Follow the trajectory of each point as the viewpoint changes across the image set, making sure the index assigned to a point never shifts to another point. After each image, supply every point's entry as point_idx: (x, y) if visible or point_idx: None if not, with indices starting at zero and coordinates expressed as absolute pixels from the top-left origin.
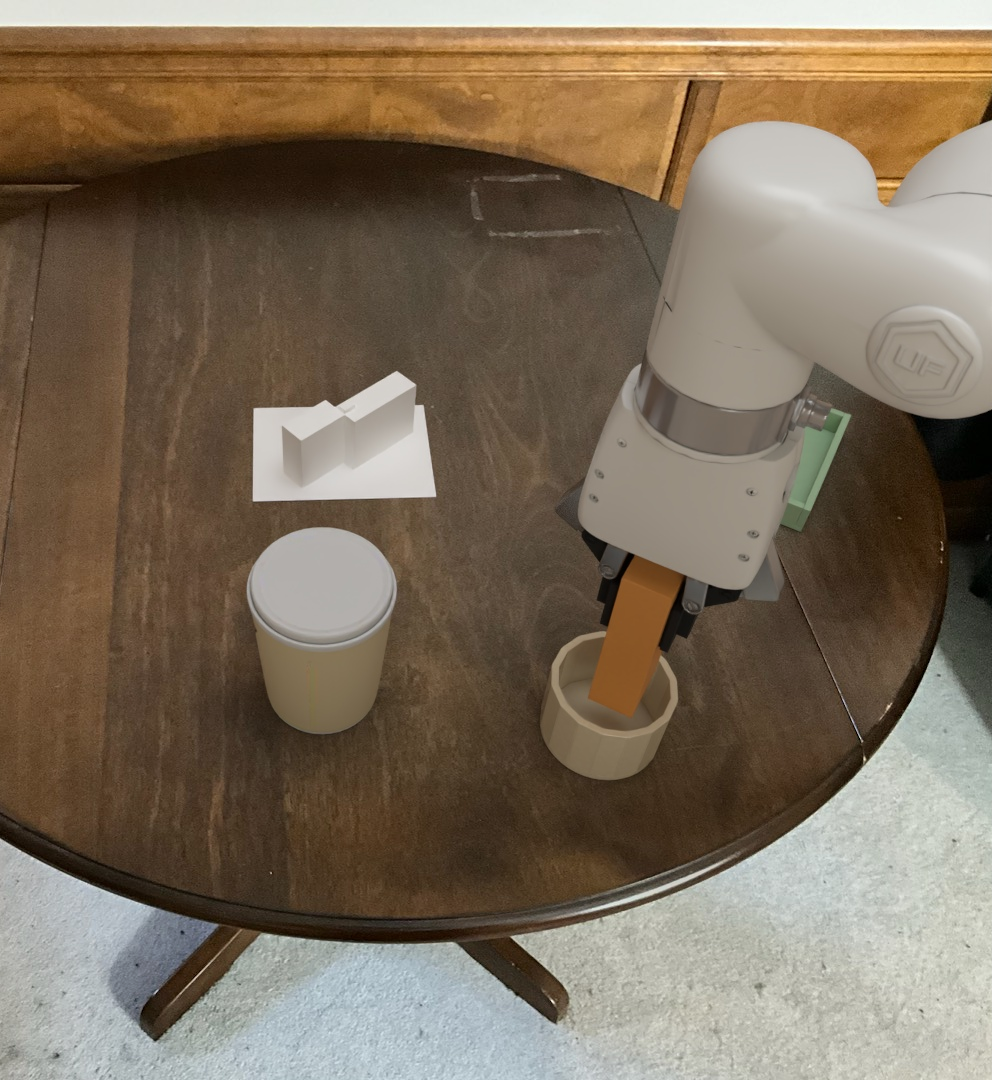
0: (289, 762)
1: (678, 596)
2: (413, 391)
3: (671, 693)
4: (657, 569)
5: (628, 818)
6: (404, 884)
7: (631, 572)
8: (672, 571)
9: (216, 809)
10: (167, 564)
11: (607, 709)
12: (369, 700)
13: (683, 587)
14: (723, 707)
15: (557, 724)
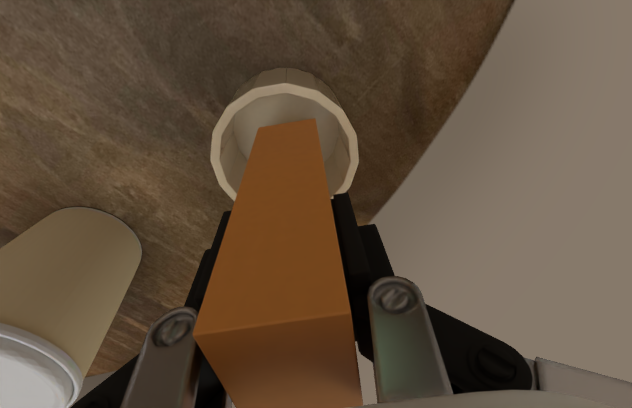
0: (141, 290)
1: (352, 321)
2: None
3: (346, 132)
4: (298, 398)
5: (351, 184)
6: None
7: None
8: (330, 389)
9: (143, 327)
10: None
11: (282, 113)
12: (131, 256)
13: (358, 338)
14: (380, 13)
15: None
